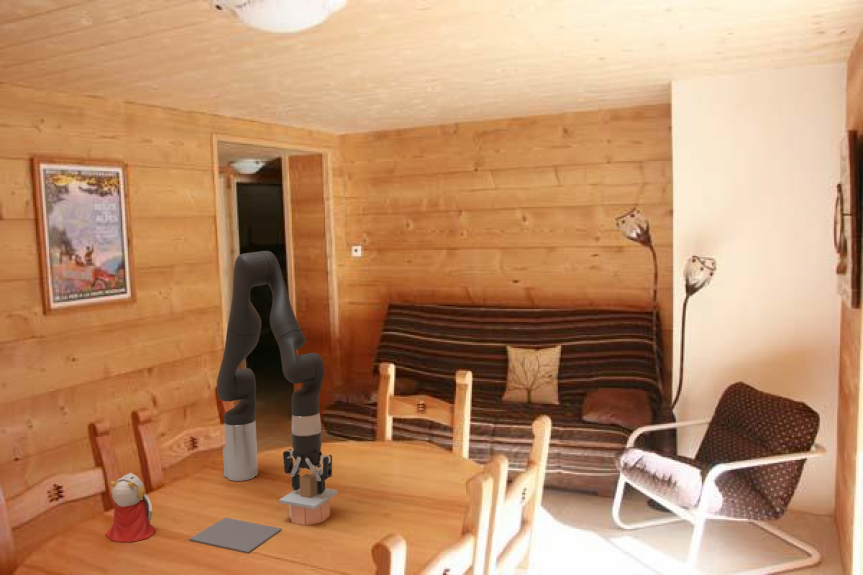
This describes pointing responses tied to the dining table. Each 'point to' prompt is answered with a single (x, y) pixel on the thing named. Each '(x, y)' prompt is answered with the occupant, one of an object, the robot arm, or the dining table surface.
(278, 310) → the robot arm
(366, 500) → the dining table surface
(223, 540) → the mat
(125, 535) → the figurine
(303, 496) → the lid
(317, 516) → the bowl
